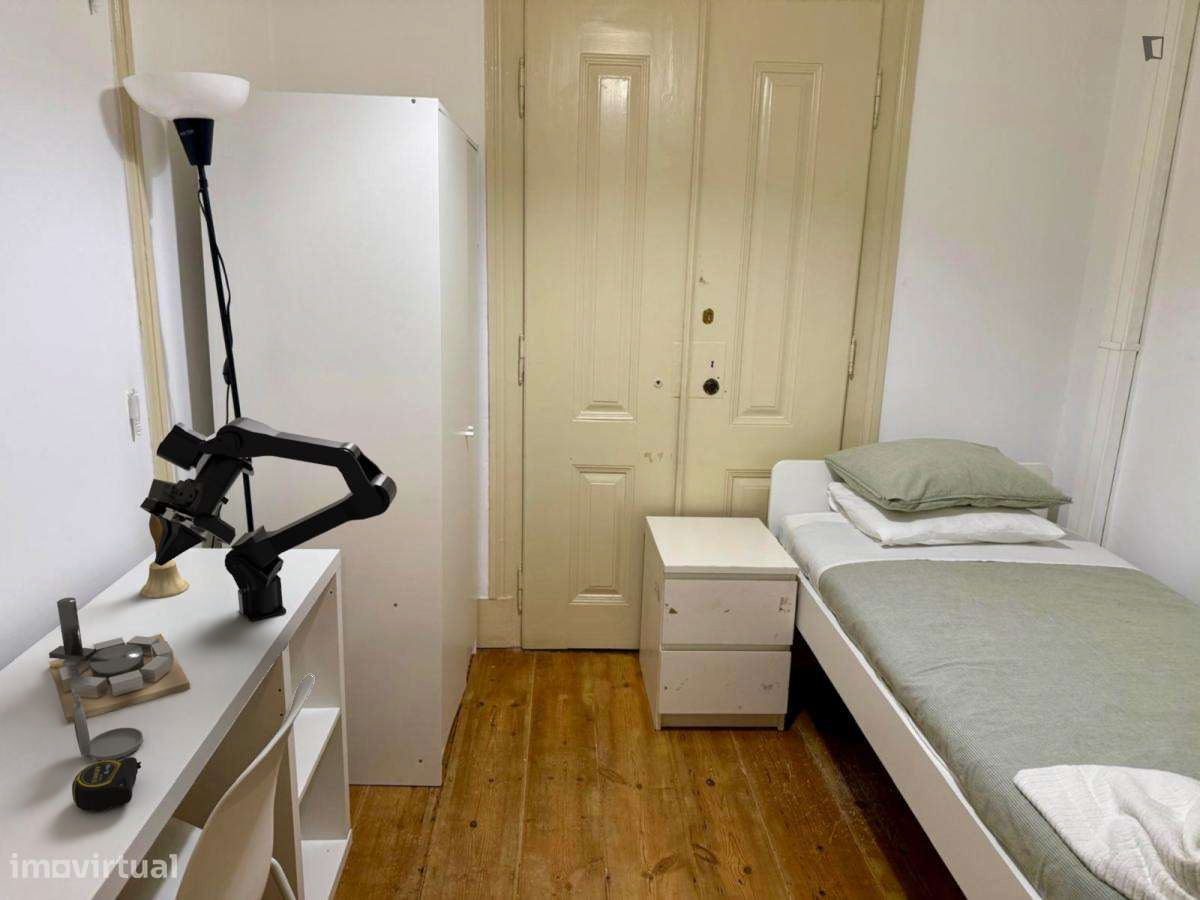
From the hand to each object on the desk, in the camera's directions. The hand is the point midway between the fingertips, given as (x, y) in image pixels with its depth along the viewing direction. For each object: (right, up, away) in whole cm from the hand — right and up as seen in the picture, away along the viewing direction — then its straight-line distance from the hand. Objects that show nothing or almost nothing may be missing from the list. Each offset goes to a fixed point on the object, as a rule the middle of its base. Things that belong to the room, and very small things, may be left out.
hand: (157, 564), depth 140 cm
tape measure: (+12, -24, -35) cm, 44 cm away
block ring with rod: (-3, -15, -9) cm, 18 cm away
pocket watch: (+7, -22, -26) cm, 34 cm away
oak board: (-2, -16, -8) cm, 18 cm away
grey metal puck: (-1, -16, -9) cm, 19 cm away
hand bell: (-10, -8, +22) cm, 26 cm away
